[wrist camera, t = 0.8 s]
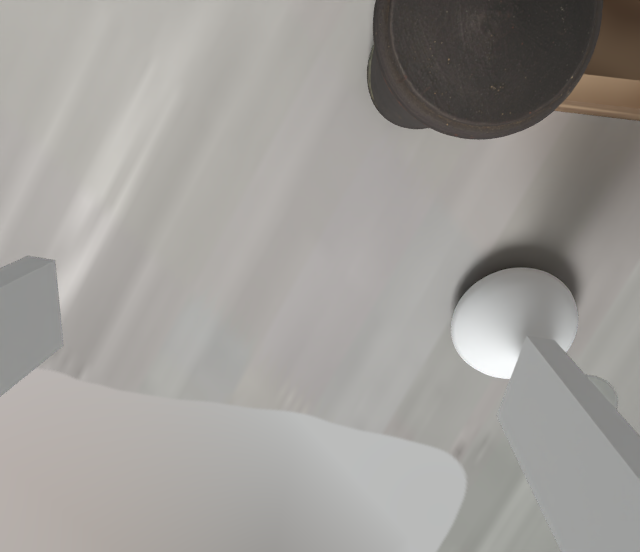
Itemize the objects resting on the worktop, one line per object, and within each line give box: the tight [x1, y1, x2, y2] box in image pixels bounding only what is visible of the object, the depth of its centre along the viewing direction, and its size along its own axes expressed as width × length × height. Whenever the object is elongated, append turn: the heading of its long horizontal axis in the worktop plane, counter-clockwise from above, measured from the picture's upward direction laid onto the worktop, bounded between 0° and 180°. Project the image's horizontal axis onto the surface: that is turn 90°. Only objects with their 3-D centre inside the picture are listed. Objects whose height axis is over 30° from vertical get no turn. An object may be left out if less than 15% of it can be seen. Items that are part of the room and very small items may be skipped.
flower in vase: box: [451, 268, 618, 410], centre depth 29 cm, size 13×11×25 cm
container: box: [367, 0, 603, 139], centre depth 25 cm, size 9×9×20 cm
